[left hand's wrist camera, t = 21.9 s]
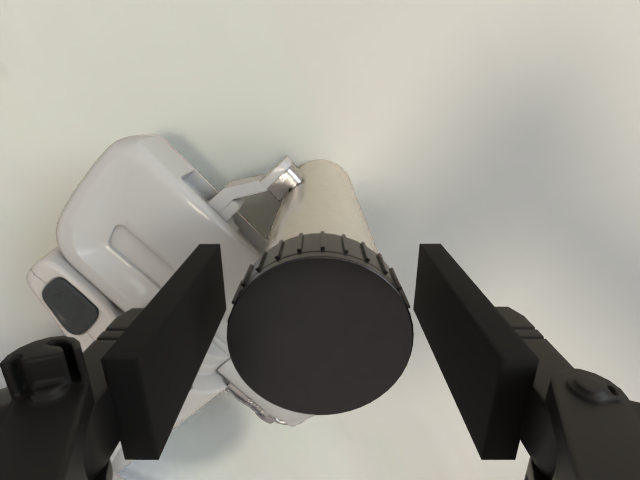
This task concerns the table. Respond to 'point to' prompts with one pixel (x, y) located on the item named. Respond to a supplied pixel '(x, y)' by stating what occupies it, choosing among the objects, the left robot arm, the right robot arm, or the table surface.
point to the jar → (321, 207)
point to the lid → (320, 325)
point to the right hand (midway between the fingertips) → (331, 206)
